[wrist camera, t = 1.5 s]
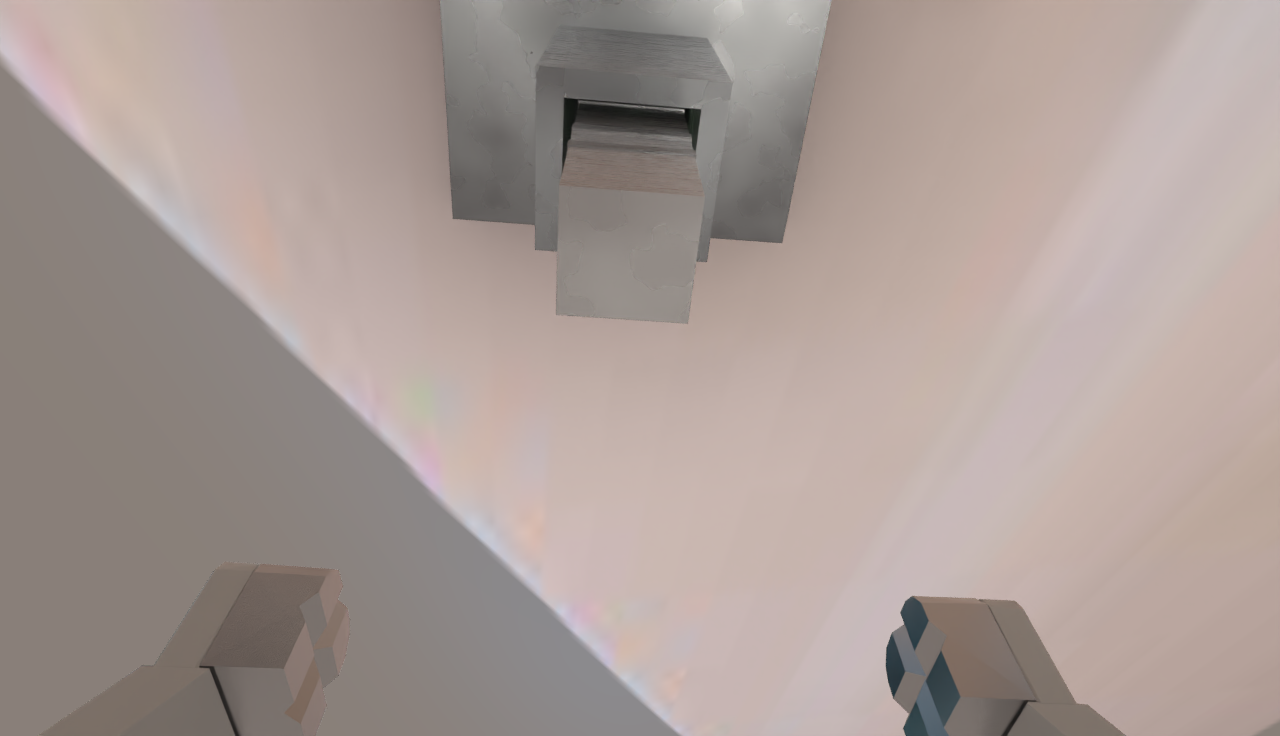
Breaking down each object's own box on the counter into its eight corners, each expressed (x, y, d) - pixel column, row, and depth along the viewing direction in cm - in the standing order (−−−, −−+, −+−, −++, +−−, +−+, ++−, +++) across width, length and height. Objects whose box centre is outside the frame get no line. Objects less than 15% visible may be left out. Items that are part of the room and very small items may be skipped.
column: (587, 58, 35) (553, 179, 20) (676, 65, 35) (711, 191, 20) (583, 147, 37) (551, 318, 22) (666, 154, 37) (692, 328, 22)
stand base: (445, -63, 34) (357, -46, 23) (826, -27, 35) (916, 7, 24) (460, 205, 41) (397, 317, 30) (776, 229, 42) (827, 346, 31)
